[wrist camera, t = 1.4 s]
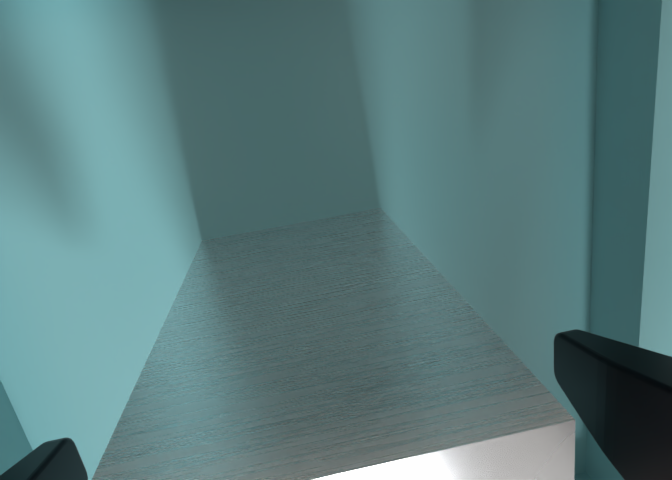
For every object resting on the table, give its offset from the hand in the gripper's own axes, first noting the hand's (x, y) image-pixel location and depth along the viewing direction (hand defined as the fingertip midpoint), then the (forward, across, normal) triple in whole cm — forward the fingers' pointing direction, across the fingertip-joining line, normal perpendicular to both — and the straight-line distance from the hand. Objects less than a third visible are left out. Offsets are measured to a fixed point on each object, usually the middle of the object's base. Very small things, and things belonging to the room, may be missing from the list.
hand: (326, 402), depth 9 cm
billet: (+4, 0, 0) cm, 4 cm away
